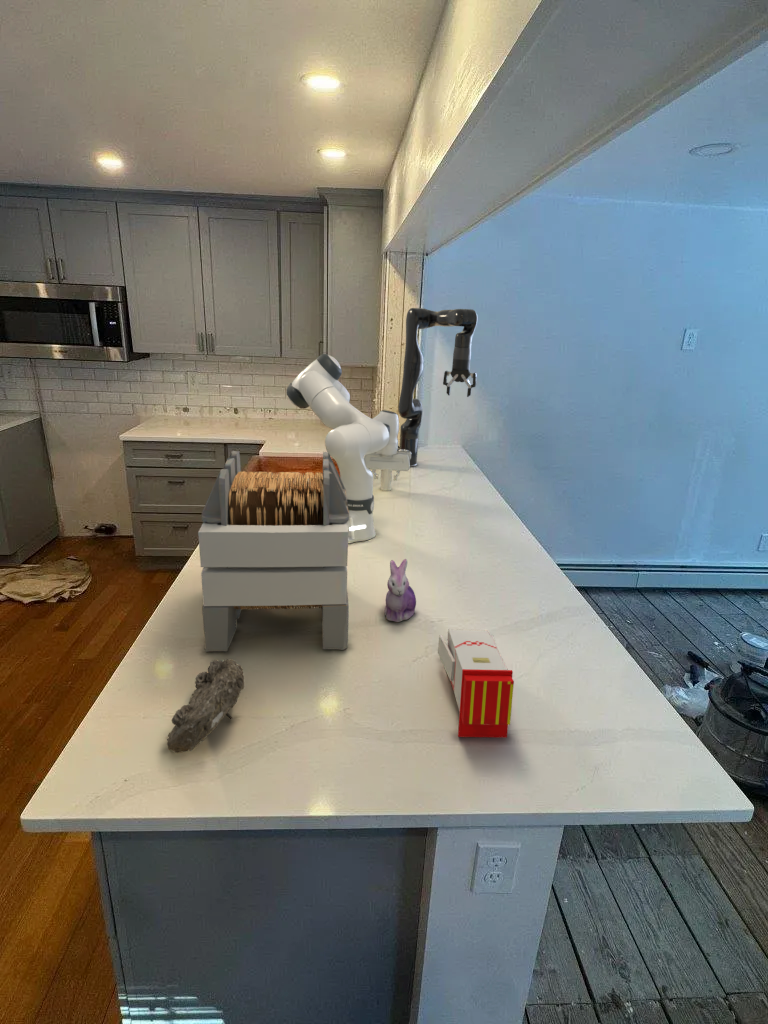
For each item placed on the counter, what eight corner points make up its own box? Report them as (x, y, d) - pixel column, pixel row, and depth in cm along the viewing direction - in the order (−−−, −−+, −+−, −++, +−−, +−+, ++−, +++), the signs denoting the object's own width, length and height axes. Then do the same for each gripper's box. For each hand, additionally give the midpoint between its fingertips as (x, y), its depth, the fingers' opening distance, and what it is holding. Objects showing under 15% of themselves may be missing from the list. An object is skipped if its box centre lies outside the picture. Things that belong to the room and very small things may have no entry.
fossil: (192, 660, 117) (244, 628, 112) (224, 691, 120) (276, 661, 115) (142, 746, 98) (202, 712, 93) (182, 779, 101) (242, 748, 96)
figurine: (392, 627, 141) (395, 572, 136) (374, 608, 149) (376, 556, 144) (425, 619, 145) (429, 566, 140) (405, 601, 154) (408, 550, 149)
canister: (385, 491, 245) (386, 469, 242) (378, 488, 249) (379, 467, 245) (393, 489, 248) (394, 468, 245) (386, 487, 252) (387, 465, 248)
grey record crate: (225, 584, 158) (217, 441, 145) (342, 583, 162) (345, 443, 148) (202, 654, 127) (189, 479, 113) (348, 650, 131) (352, 481, 117)
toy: (488, 613, 130) (523, 677, 101) (484, 667, 133) (517, 744, 104) (435, 612, 130) (455, 676, 101) (432, 666, 133) (451, 743, 103)
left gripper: (411, 448, 245) (409, 478, 249) (364, 445, 246) (363, 476, 250) (411, 451, 239) (409, 483, 243) (363, 448, 240) (362, 480, 244)
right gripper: (444, 357, 243) (441, 395, 248) (477, 359, 239) (473, 398, 245) (446, 356, 249) (443, 393, 255) (479, 358, 246) (475, 396, 252)
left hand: (385, 479), depth 247 cm, fingers open, 7 cm apart
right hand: (458, 395), depth 250 cm, fingers open, 8 cm apart
